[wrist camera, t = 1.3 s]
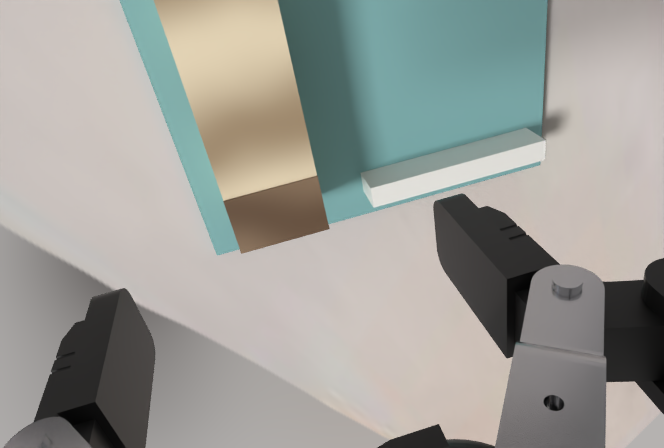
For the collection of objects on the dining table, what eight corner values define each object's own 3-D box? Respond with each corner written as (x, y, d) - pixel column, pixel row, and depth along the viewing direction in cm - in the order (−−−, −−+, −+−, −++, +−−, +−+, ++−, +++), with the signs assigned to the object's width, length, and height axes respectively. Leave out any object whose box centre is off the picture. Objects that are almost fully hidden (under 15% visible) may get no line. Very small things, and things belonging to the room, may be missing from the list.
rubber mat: (98, -62, 21) (96, -61, 20) (548, -159, 22) (554, -161, 22) (216, 250, 29) (217, 255, 29) (535, 161, 31) (540, 164, 31)
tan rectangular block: (157, -17, 21) (150, -8, 18) (260, -41, 22) (270, -35, 19) (236, 218, 28) (241, 253, 25) (315, 196, 28) (329, 228, 25)
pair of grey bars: (319, -67, 22) (329, -67, 20) (532, -116, 23) (559, -119, 21) (363, 191, 29) (373, 207, 27) (525, 146, 30) (545, 159, 28)
